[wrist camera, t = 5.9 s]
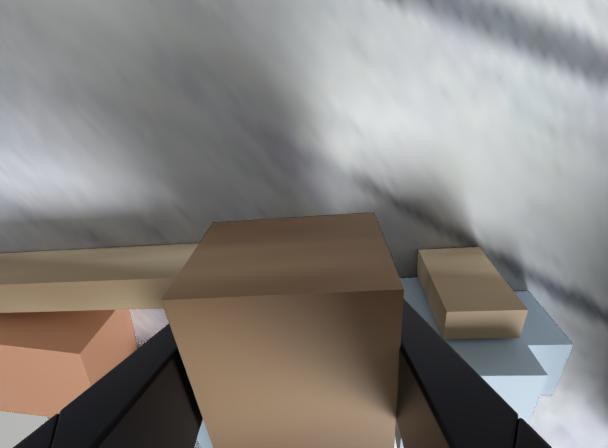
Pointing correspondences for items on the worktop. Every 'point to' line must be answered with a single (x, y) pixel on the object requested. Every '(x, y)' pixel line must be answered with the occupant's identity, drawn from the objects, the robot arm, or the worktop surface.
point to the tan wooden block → (291, 332)
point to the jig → (171, 258)
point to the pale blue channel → (498, 356)
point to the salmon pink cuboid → (58, 356)
